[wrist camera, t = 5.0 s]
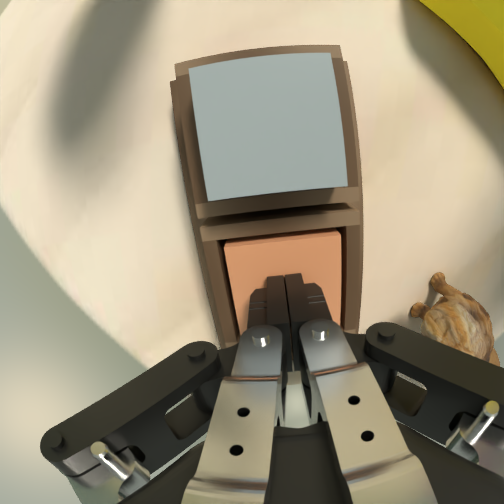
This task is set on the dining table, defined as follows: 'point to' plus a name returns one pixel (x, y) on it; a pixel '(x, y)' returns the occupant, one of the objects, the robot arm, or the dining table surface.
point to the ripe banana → (477, 27)
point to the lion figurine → (457, 322)
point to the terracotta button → (285, 265)
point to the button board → (271, 199)
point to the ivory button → (295, 402)
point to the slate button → (268, 125)
